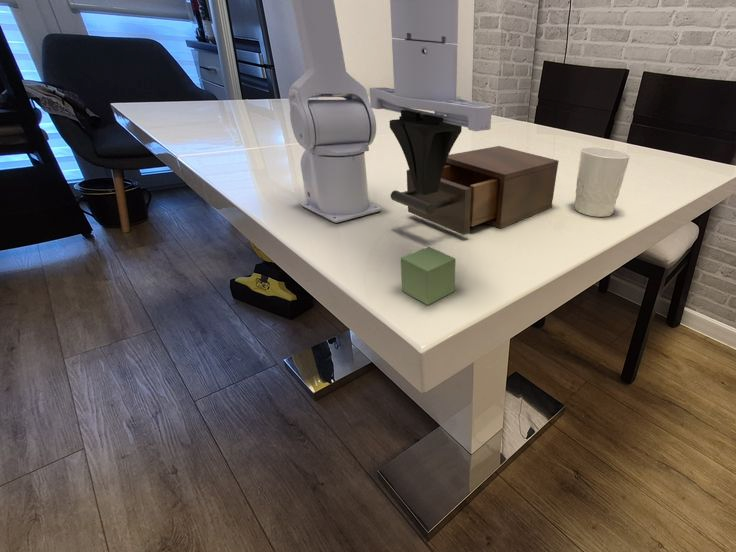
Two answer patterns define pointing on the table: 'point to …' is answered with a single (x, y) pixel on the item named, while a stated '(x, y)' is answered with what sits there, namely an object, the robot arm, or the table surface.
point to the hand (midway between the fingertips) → (426, 191)
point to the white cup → (599, 180)
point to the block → (428, 275)
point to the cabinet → (513, 180)
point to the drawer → (454, 199)
